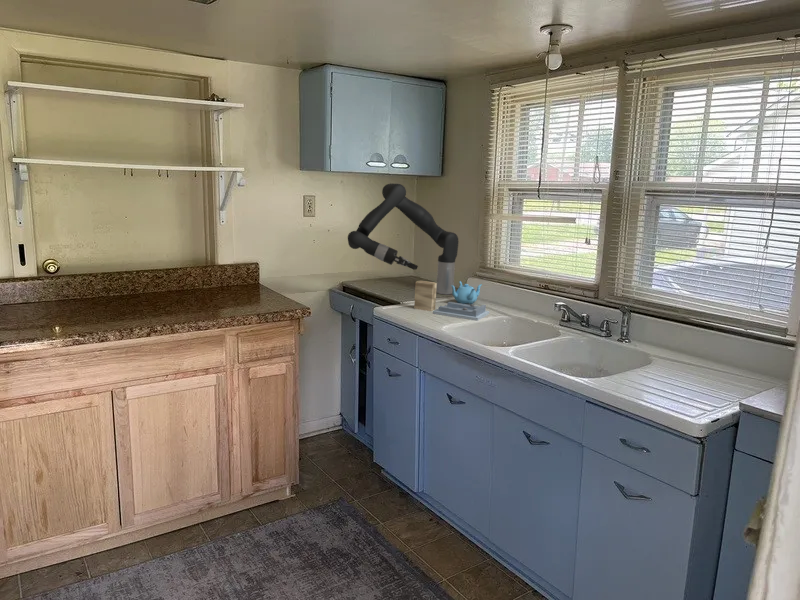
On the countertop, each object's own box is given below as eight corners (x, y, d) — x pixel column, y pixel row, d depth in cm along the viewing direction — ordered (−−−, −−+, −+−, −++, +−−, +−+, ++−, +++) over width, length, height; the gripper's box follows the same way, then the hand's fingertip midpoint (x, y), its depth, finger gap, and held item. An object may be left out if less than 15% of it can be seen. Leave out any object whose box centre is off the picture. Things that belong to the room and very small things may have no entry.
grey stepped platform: (446, 307, 288) (446, 298, 287) (489, 313, 278) (489, 305, 277) (432, 313, 274) (433, 304, 273) (477, 320, 264) (478, 311, 264)
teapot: (458, 299, 306) (459, 280, 304) (482, 303, 300) (484, 283, 298) (448, 304, 295) (449, 284, 293) (473, 307, 289) (474, 287, 287)
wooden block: (418, 306, 286) (419, 280, 284) (435, 309, 282) (436, 282, 280) (414, 308, 282) (415, 281, 280) (431, 311, 278) (432, 284, 276)
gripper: (387, 246, 276) (418, 260, 275) (391, 247, 290) (420, 261, 289) (380, 260, 277) (411, 275, 275) (384, 261, 291) (414, 274, 290)
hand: (416, 267), depth 282 cm, fingers open, 8 cm apart
